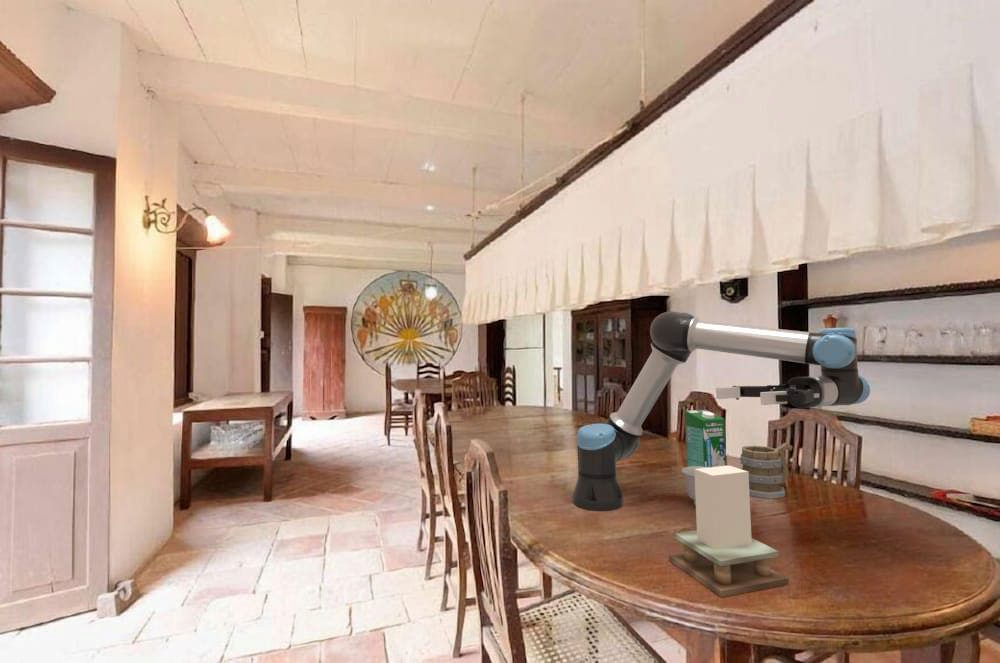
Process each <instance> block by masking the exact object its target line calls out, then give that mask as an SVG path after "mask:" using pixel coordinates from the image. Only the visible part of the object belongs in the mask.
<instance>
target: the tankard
mask: <svg viewBox="0 0 1000 663" xmlns="http://www.w3.org/2000/svg"><path fill="white" fill-rule="evenodd" d="M741 448H742V449H741V452H742V453H741V454H740V457H739V460H740V464H741V465H742V467H741V469H742V470H745V471H748V473H749V495H750V497H752V498H759V499H766V500H767V499H769V500H774V499H781V498H783V499H784V498H786V492H785V491H786V490H785V487H784V486H781V484H784V483H786V482H787V479H788V477H789V467H788V465H787V462H786V456H785V451H790V452H791V451H792V450H793V445H792V444H791V445H790V444H789V443H788V442H784V443H782V444H780V445H779V446H778V447H776V448H773V447H769V446H762V445H745V446H742V447H741Z"/></svg>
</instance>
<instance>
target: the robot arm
mask: <svg viewBox="0 0 1000 663" xmlns="http://www.w3.org/2000/svg"><path fill="white" fill-rule="evenodd" d="M649 332H650V333H649V334H650V337H651V338H650V339H651V340H652V341H651V342H650V346H651V350H652V351H651V353H650V355H649V357H648V358H647V360H646V362H645V363H644V365H643V367H641V368H642V369H641V370H640V371H639V374H638V375H637V378H636V379H635V381H634V382H633V384H632V386H631V388H630V389H629V391H628V393H627V394H626V397H625V398H624V400H623V401H622V403H621V405H620V406H619V408H618V410H617V411H616V412H611V414H609V416H608V418H607V420H606V421H605V423H591V424H586V425H583V426H581V427H580V428H579V429H578V431H577V433H576V434H577V436H576V446H577V471H578V472H577V475H578V476H577V477H578V478H577V480H576V482H575V483H576V484H575V487H574V490H573V495H572V497H573V499H572V500H573V501H572V502H573V504H574V505H576V506H577V507H579V508H582V509H586V510H591V511H612V510H617V509H619V508H621V507H623V505H624V497H623V496H624V495H623V493H622V489H621V487H620V484H619V481H618V479H617V462H619V461H621V460H623V459H627V458H629V457H630V456H632V455H633V454H634V453H635V452H636V451H637V450H638V448H639V445H640V439H641V436H642V434H643V428H642V425H643V423H644V421H645V420H646V418H647V416H649V414H650V412H651V411H652V408H653V406H654V405H655V404H656V402H657V400H658V399H659V397H660V396H661V393H662V392H663V390H664V389H665V387H666V385H667V384H668V382H669V381H670V379H671V377H672V375H673V374H674V372H675V370H676V369H677V367H678V366H679V365H681V364H685V363H686V362H687V361H688V359H689V358H690V356H691V354H692V352H694V351H696V350H697V349H698V350H706V351H714V352H720V353H727V354H735V355H743V356H748V357H757V358H763V359H772V360H778V361H785V362H786V361H787V362H794V363H800V364H801V363H802V364H808V365H813V366H814V365H815V366H820V373H821V375H809V376H794V377H792V378H790V379H789V380H788V381H787V382H786V384H783V383H781V384H778V385H777V384H776V385H775V384H774V385H772V384H771V385H770V384H769V385H743V386H742V385H741V386H740V385H738V386H737V385H732V386H729V387H726V386H724V387H716V388H715V397H716V398H715V399H717V400H725V399H735V400H737V401H738V400H739V399H740V398H760V405H761V406H771V405H772V406H773V405H786V404H788V403H789V404H791V406H794V407H795V408H799V409H806V408H807V409H808V408H815V407H816V408H817V409H818V410H822V409H823V407H833V406H834V407H835V406H852V405H856V404H860V403H863V402H865V401H866V400H867V399H868V398H869V396H870V394H871V388H870V387H871V386H870V385H869V383H868V382H867V380H866V379H865V377H863V376H861V375H859V369H858V347H857V346H858V340H857V335H856V334H857V332H856V330H855V328H853V327H829V328H827V327H826V328H821V329H820V330H819V332H809V331H803V330H802V331H800V330H790V329H781V328H771V327H763V326H762V327H761V326H751V325H743V324H742V325H741V324H733V323H723V322H713V321H704V320H702V321H701V320H700V318H699V317H697V316H694V315H692V314H690V313H688V312H677V311H665V312H663V313H660V314H659V315H657V316H655V318H654V319H653V320H652V322H651V325H650V328H649Z"/></svg>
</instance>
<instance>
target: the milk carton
mask: <svg viewBox="0 0 1000 663" xmlns="http://www.w3.org/2000/svg"><path fill="white" fill-rule="evenodd" d="M684 416H685V440H686V442H685V443H686V444H685V445H686V463H687V464H686V465H687V466H686V467H691V466H702V467H718V466H728V464H727V446H726V444H727V443H726V425H725V424H726V423H725V422H726V421H725V418H724V417H721V416H719V415H718V414H716V413H714V412H711V411H710V410H708V409H695V410H694V409H693V410H692V409H691V410H685V411H684Z"/></svg>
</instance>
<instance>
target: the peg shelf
mask: <svg viewBox="0 0 1000 663" xmlns="http://www.w3.org/2000/svg"><path fill="white" fill-rule="evenodd" d="M674 539H676V540H677V541H678V542H681V543H682V552H681V553H674V554H669V555H668V560H669V562H670V563H672V564H674V566H676V567H677V568H679V569H680V570H681V571H683V572H685V573H686V574H688V575H689V576H691V578H693V579H695V580H696V581H697V582H698V583H700V584H701V585H702V586H704V587H706V588H707V589H709V590H710V592H711V591H712V592H713V593H714V594H716V595H717V596H718V597H720V598H725V597H731V596H736V595H742V594H746V593H752V592H757V591H763V590H767V589H772V588H779V587H783V586H787V585H790V584H789V583H790V582H789V578H788V577H787V576H785V575H783V574H781V573H779V572H778V571H776V570H774V569H772V568H771V558H772V559H773V558H777V557H780V551H779V550H777V549H775V548H772V547H771V546H769V545H767V544H765V543H763V542H761V541H759V540H756V539H755V538H753V537H751V539H752V544H750V545H743V546H737V547H731V548H725V549H719V550H715V549H713V548H711V547H709V546H708V545H706V544H704V543H703V542H701V541H699V540H697V529H696V530H691V531H690V530H689V531H683V532H675V533H674Z"/></svg>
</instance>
